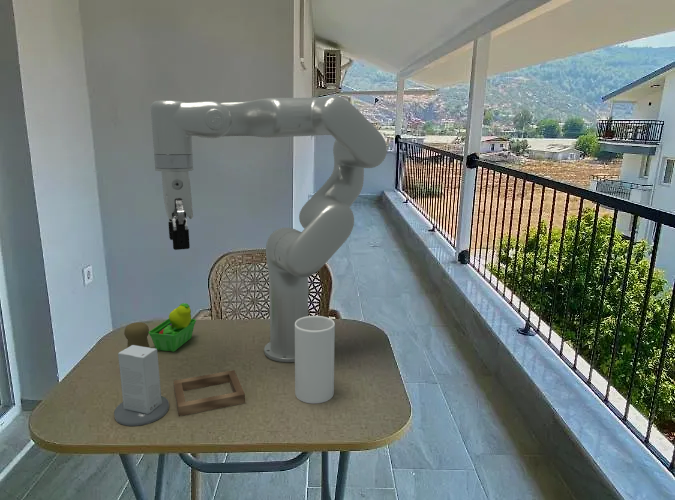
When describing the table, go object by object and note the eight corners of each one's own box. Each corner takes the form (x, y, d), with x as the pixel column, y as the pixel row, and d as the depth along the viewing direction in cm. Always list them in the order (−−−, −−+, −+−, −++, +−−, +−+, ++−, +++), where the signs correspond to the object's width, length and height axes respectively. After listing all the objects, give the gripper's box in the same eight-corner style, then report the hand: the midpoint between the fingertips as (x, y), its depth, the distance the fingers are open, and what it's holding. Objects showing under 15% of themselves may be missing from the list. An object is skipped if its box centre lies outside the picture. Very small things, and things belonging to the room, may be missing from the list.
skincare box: (162, 403, 97) (158, 348, 94) (148, 415, 93) (143, 357, 90) (137, 398, 98) (132, 343, 96) (122, 409, 95) (116, 353, 92)
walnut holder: (234, 378, 109) (234, 370, 108) (245, 403, 99) (245, 394, 98) (174, 389, 104) (173, 380, 103) (178, 416, 94) (178, 407, 93)
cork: (144, 376, 109) (140, 330, 106) (120, 373, 110) (115, 328, 108) (159, 364, 115) (155, 320, 112) (136, 361, 116) (132, 318, 113)
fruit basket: (172, 333, 132) (169, 294, 129) (202, 336, 130) (200, 297, 128) (148, 351, 121) (144, 309, 118) (180, 355, 119) (177, 312, 117)
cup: (306, 407, 98) (306, 334, 94) (288, 389, 104) (287, 320, 100) (341, 396, 102) (342, 325, 98) (321, 379, 109) (321, 312, 105)
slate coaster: (167, 393, 102) (166, 390, 102) (170, 419, 93) (170, 415, 93) (115, 403, 98) (114, 399, 98) (113, 430, 89) (113, 427, 89)
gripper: (198, 165, 93) (202, 251, 97) (188, 160, 109) (192, 234, 113) (156, 166, 90) (163, 254, 94) (152, 160, 106) (158, 237, 110)
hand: (179, 243), depth 104 cm, fingers open, 9 cm apart
